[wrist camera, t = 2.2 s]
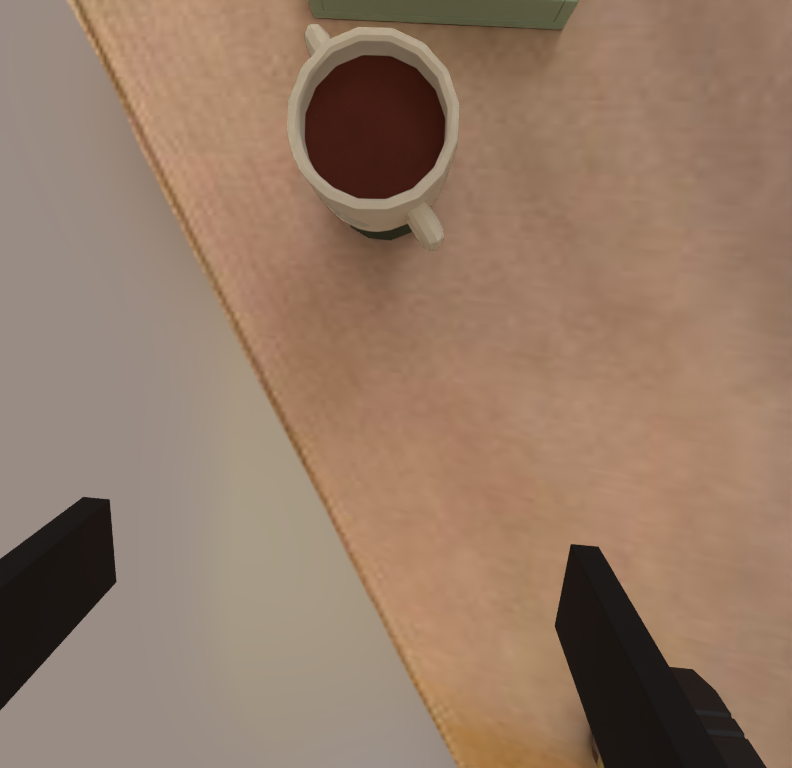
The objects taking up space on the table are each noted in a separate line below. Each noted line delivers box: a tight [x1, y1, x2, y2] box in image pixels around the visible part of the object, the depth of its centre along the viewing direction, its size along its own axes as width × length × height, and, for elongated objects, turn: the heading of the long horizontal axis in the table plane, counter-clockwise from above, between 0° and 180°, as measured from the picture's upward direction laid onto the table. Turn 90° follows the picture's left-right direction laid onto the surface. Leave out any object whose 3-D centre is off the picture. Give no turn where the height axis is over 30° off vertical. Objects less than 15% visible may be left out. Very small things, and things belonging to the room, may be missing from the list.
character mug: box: [287, 24, 459, 252], centre depth 27 cm, size 11×7×13 cm, turn 32°
